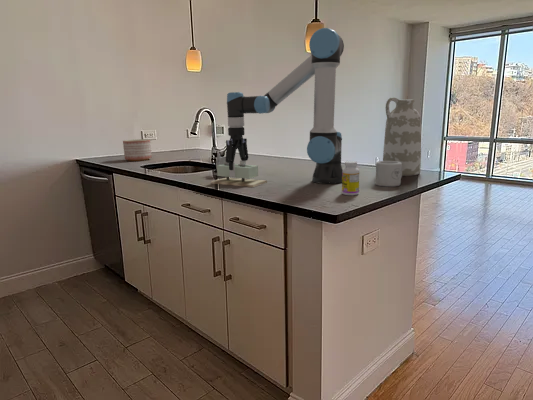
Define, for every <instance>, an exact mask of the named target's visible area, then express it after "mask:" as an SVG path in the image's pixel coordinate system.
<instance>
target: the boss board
mask: <svg viewBox="0 0 533 400" xmlns="http://www.w3.org/2000/svg"><path fill="white" fill-rule="evenodd" d="M239 164H240V163H239ZM224 166H229V163H225V164H224ZM240 167H245V164H240ZM210 182H211V184H212V185H213V184H214V185H224V186H225V185H226V186H236V187H238V186H239V187H248V188H255V187H258V186H261V184H262V185H264V183H265V184H267V183H268V180H263V179H253V178H250V179H245V178H235V177H221V178H218V179H216V180H215V179H214V180H211V181H210Z"/></svg>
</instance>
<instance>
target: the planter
mask: <svg viewBox="0 0 533 400" xmlns="http://www.w3.org/2000/svg"><path fill="white" fill-rule="evenodd" d="M122 145H123V154H124V155H123V156H124V160H127V161H128V162H145V161H148V160H150V159H151V158H152V150H151V149H152V147H151V140H150V139H147V138H145V139H144V138H140V139H139V138H138V139H126V140H125V139H124V140H122ZM144 160H145V161H144Z"/></svg>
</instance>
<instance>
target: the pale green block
mask: <svg viewBox="0 0 533 400" xmlns="http://www.w3.org/2000/svg"><path fill="white" fill-rule="evenodd" d="M216 171H217V172H216V175H217V177H220V176H221V177H222V176H224V177H223V178H226V177H229V178H231V177H230V170H229V166H224V164H222V165H217V169H216ZM256 177H259V165H255V164H254V165H252V164H246V165H245V167H240V163H239V164H238V163H235V177H234V178H239V179H242V178H245V179H253V178H256Z"/></svg>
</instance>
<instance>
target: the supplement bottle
mask: <svg viewBox="0 0 533 400" xmlns="http://www.w3.org/2000/svg"><path fill="white" fill-rule="evenodd" d="M342 169H343V170H342V182H341V193H342V194H343V195H345V196H357V195H359V193H360V169H359V168H358V162H357V161H354V160H352V161H351V160H349V161H344V168H342Z"/></svg>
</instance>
